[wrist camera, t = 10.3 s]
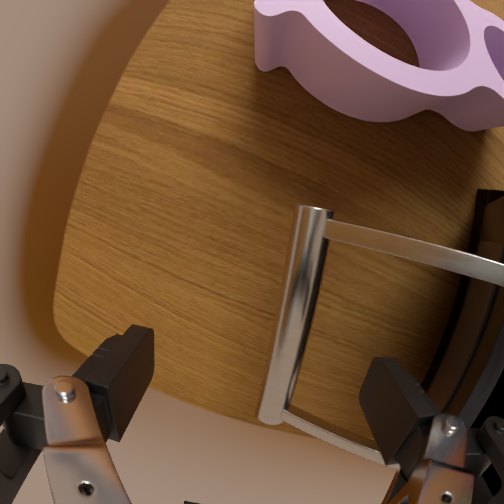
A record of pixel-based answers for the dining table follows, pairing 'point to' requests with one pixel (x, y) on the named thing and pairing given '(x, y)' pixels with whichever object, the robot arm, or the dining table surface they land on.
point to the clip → (391, 60)
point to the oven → (500, 399)
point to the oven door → (473, 265)
